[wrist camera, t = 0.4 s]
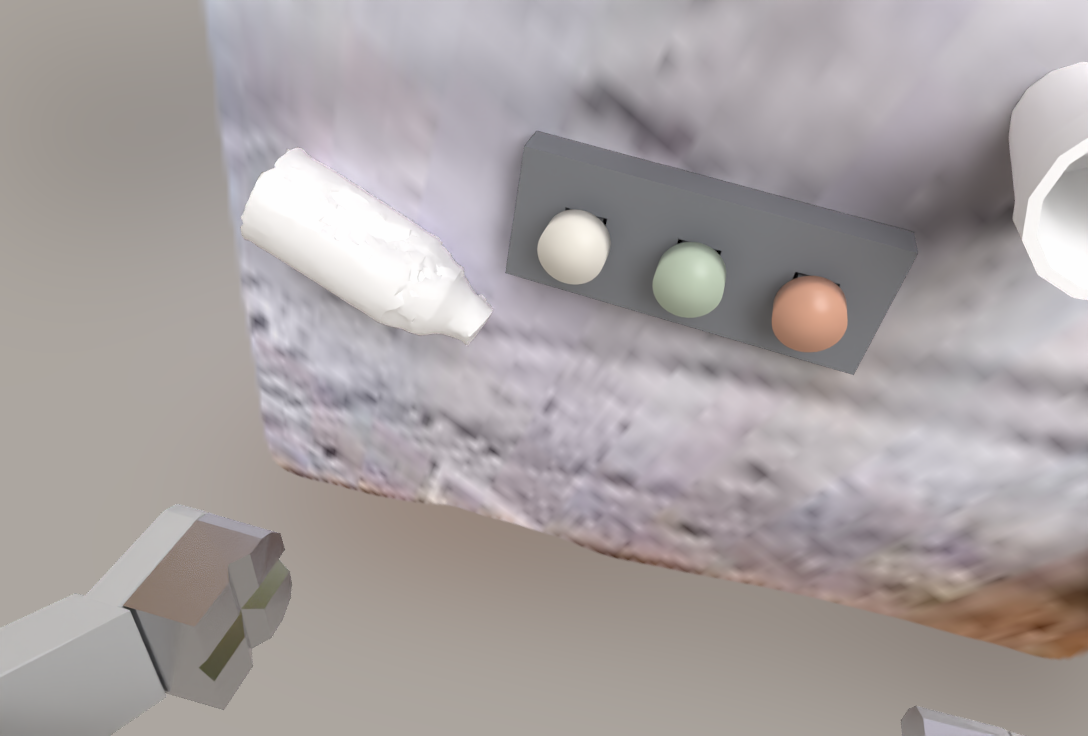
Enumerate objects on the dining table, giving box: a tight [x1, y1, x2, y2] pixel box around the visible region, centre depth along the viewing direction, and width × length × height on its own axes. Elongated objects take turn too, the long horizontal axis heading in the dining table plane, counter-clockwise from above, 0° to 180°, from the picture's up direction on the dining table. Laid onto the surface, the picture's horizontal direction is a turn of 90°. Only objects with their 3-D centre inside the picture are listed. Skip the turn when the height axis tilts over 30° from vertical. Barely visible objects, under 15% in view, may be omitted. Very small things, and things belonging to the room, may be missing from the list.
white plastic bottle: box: [240, 147, 493, 346], centre depth 60 cm, size 8×19×8 cm, turn 60°
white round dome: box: [537, 209, 611, 284], centre depth 54 cm, size 5×5×5 cm
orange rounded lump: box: [772, 272, 848, 352], centre depth 52 cm, size 5×5×5 cm
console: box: [505, 131, 918, 375], centre depth 55 cm, size 10×26×3 cm, turn 80°
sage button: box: [652, 240, 726, 318], centre depth 53 cm, size 5×5×5 cm
